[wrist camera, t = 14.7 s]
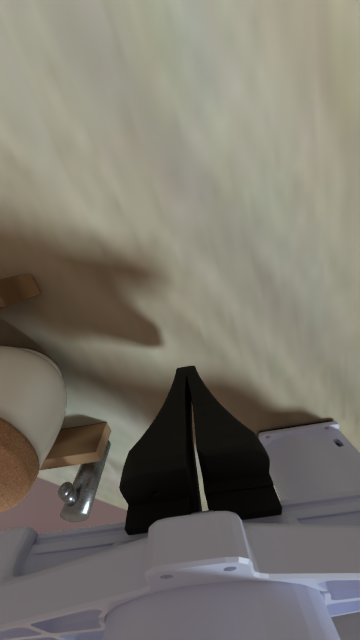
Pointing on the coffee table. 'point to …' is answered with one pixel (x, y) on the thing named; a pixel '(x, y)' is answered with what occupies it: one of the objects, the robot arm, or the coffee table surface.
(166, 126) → the coffee table surface
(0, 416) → the lidded jar
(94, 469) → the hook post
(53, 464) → the walnut shelf
